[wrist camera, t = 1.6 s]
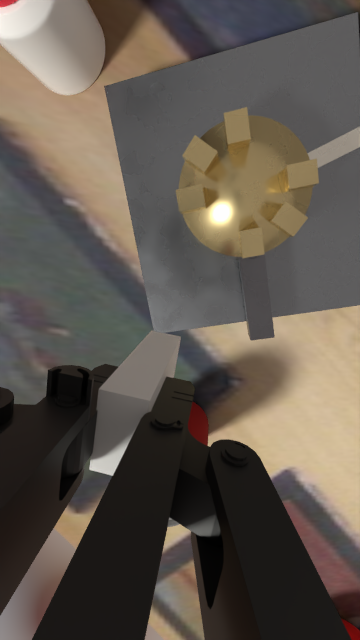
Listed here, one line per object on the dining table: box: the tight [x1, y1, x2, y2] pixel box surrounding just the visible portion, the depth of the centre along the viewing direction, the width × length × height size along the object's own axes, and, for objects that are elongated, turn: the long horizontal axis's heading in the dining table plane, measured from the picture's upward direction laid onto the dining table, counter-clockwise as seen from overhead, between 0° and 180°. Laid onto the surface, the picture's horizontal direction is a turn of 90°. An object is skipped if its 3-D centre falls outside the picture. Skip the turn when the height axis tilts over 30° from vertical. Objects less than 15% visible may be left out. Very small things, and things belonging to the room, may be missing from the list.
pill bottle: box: [0, 0, 106, 95], centre depth 24 cm, size 8×8×11 cm
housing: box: [104, 12, 360, 333], centre depth 28 cm, size 22×21×4 cm
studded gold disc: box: [176, 107, 319, 340], centre depth 24 cm, size 17×10×4 cm, turn 10°
